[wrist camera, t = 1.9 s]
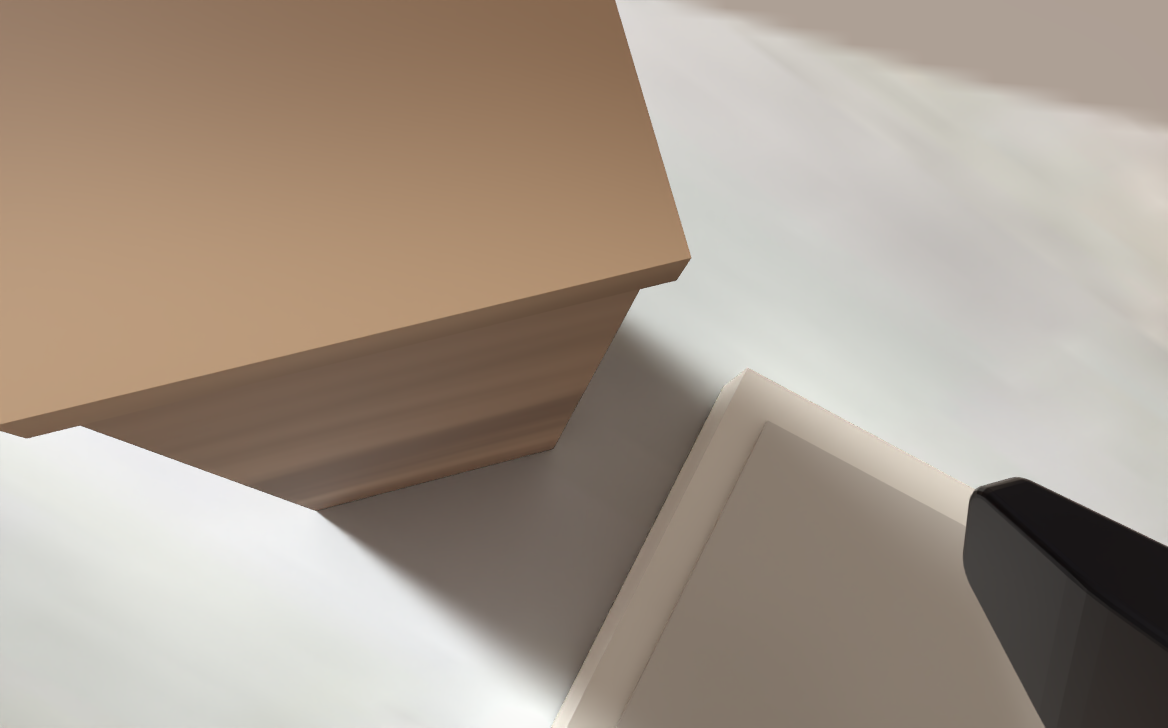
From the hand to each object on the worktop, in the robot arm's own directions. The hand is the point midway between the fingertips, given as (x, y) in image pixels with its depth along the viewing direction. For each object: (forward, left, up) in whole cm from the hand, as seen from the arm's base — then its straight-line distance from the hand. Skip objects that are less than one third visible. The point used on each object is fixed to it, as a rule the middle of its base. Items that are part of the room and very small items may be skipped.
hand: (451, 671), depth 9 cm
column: (+3, -3, -11) cm, 12 cm away
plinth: (-7, -1, -11) cm, 13 cm away
